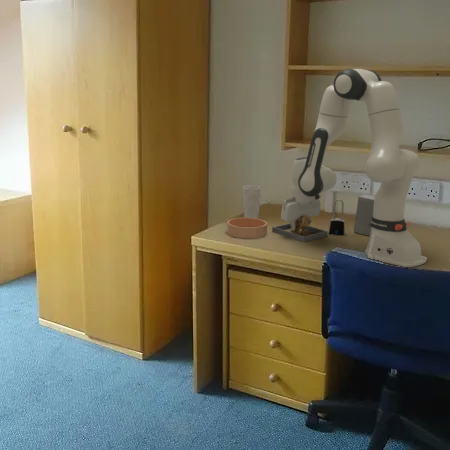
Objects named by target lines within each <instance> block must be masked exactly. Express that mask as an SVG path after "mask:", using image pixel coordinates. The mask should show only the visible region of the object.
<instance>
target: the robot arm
mask: <svg viewBox="0 0 450 450" xmlns="http://www.w3.org/2000/svg"><path fill="white" fill-rule="evenodd" d="M355 101H363V102H364V104H365V105H366V108H367V109H366V111H367V115H368V122H369V129H370V134H371V136H370V137H371V143H370V144H371V145H370V154H369V156H368V159H367V161H366V163H365V174H366V176H367V178H368V179H369V180H370V181H372V182H375V183H380V186H379V188H378V190H377V191H376V193H375V194H374V196H375V197H374V208H373V216H372V218H371V233H370V236H369V238H368V243H367V245H366V249H365V251H364V253H365V255H366V257H368V258H367V259H369V258H370V259H369V260H373V259H375V260H374V261H377V260H379V261H378V262H381V261H382V262H383V263H386V264H391V265H395V266H399V267H404V268H412V267H417V266H421V265H424V264H425V263H427V261H428V258H427V256H424V255H422V249H421V244H420V242H419V241H418V240H417V239H416V238H415V237H414V236H413V235H412V234H411V232H409V230H408V226H410V222H409V221H408V222H406V220H405V218H404V216H405V208H406V203H407V201H406V200H407V196H408V193H409V189H410V187H411V184H412V181H413V178H414V176H415V174H416V173H417V172H418V171H419V168H420V163H421V162H420V159H419V156H418V154H416V152H414V151H412V150H410V149H405V148H400V141H401V137H402V134H403V133H404V127H403V120H402V114H401V108H400V104H399V99H398V95H397V92H396V90H395V88H394V86H393V84H392V83H391V82H389V81H387V80H385V81H384V80H382V78H381V76H380V75H379V74H378V73H377V72H375V71H373V70H372V69H371V70H370V69H363V68H346V69H343V70H342V71H339V72H338V73H337V74H336V75H335V78H334V79H333V84H331V85H329V86H328V87H326V89H325V90H324V93H323V96H322V99H321V102H320V105H319V106H320V107H319V111H318V112H319V113H318V116H317V117H318V118H317V122H316V125H315V129H314V131H313V135H312V137H311V138H312V139H311V140H310V145H309V148H308V152H307V156H303V157H298V158H296V159H295V160H294V161H293V164H292V169H291V182H292V185H291V188H290V198H285V200H284V201H283V203H282V206H281V211H280V212H281V213H280V219H281V221H282V222H286V223H288V222H289V223H290V224H291V228H290V231H291V230H293V231H297V226H295V221H296V220H298V219H300V217H301V216H304V215H307V216H308V218H309V219H310V220H311V219H312V217H317V216H319V215H320V212H321V198H322V194H321V193H324V192H326V191H327V192H328V191H329V190H331V189H333V188H334V187H335V185H336V184H337V175H336V172H335V171H334V170H333V169H332V168H330V167H328V166H325V165H323V163H324V161H325V155H326V152H327V150H328V148H329V146H330V145H331V144H332V143H333V142H334V141H335V140H336V139H338V138H339V137H340V136H341V135H342V134H344V132H345V128H346V126H347V124H348V123H347V122H348V117H349V112H350V107H351V105H352V103H353V102H355ZM311 221H312V220H311ZM308 226H310V225H309V224H308ZM308 226H307V227H308ZM307 227H306V228H307Z"/></svg>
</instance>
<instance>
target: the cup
mask: <svg viewBox="0 0 450 450" xmlns="http://www.w3.org/2000/svg"><path fill="white" fill-rule="evenodd" d="M262 187H263V186H260V185H255V184H247V185H246V184H245V185H242V197H243V198H242V199H243V200H242V202H243V203H242V204H243V216H244V217H243V218H257V219H259V214H260V213H259V212H260V205H261V197H262Z"/></svg>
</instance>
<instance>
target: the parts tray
mask: <svg viewBox="0 0 450 450" xmlns="http://www.w3.org/2000/svg"><path fill="white" fill-rule="evenodd" d="M290 226H291V224H290V222H289V223H285V224H280V225H276V226H273V227H272V226H271V227H272V228H271V232H273V233H275V234H278V235H282V236H283V237H288V238H290V239H294V240H297V241H299V242H303V243H305V242H310V241H313V240H318V239H321V238H326V237H328V235H329V234H328V233H329V230H324V229H320V228H317V227H315V226H311V225H309V226H308V227H307V228H305V229H304V231H307V232H311V233H313V234H310V235H300V234H299V235H297V233H293V232H290V231H287V230H288V229H290V228H289V227H290ZM325 236H326V237H325Z"/></svg>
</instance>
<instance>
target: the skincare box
mask: <svg viewBox="0 0 450 450" xmlns="http://www.w3.org/2000/svg"><path fill="white" fill-rule="evenodd" d="M374 197H375V195H370V194H363V195H359V196H358V199H357V204H356V212H355V220H354V227H353V232H354V234H359V235H364V236H369V237H370V233H371V218H372V216H373V208H374Z"/></svg>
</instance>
